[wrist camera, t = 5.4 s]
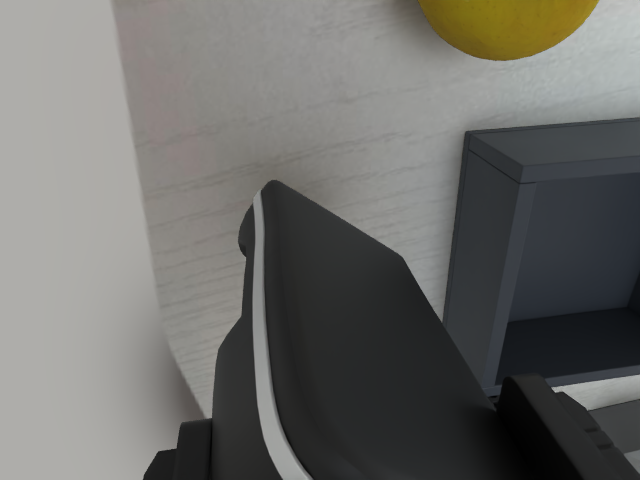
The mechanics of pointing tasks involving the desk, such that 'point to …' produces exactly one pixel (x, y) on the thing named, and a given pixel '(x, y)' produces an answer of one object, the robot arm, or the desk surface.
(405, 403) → the battery charger
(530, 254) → the bin
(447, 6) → the apple
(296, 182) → the desk surface
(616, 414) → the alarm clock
